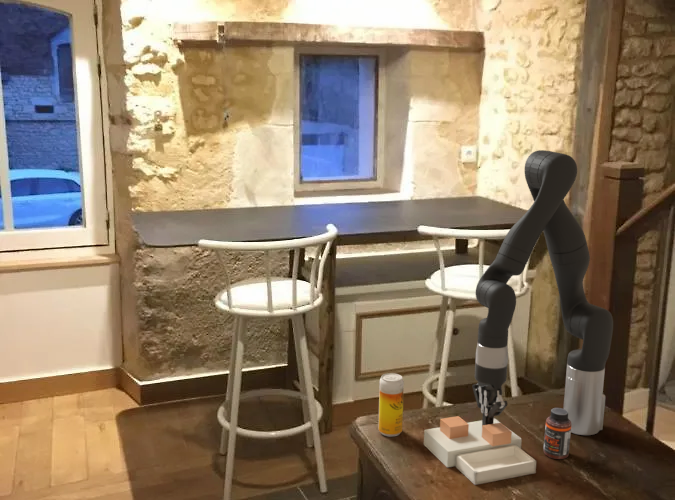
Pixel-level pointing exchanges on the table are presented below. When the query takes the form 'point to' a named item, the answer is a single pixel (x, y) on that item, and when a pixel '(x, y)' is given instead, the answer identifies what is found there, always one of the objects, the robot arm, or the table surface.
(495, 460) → the tray
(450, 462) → the slab
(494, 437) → the tile
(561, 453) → the supplement bottle
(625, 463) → the table surface
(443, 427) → the orange square block
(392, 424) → the beer can
